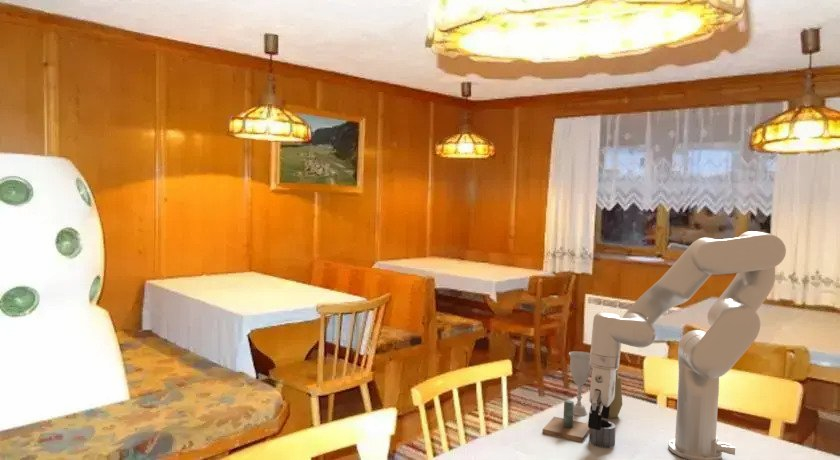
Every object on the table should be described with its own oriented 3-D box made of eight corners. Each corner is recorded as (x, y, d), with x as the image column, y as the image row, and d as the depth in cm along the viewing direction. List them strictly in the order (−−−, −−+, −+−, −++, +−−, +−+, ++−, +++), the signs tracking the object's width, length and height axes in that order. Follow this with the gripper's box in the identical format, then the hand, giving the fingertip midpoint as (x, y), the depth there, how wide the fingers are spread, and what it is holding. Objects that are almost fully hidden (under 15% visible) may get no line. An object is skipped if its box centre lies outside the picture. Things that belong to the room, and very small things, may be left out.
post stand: (592, 428, 170) (593, 400, 170) (582, 442, 161) (584, 411, 160) (554, 420, 176) (555, 392, 175) (542, 433, 166) (543, 403, 166)
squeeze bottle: (620, 411, 184) (623, 353, 183) (623, 421, 177) (626, 360, 176) (593, 409, 186) (595, 351, 185) (594, 418, 178) (597, 358, 177)
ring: (616, 441, 162) (617, 422, 162) (611, 449, 156) (612, 430, 156) (592, 435, 165) (593, 418, 165) (587, 444, 159) (587, 425, 159)
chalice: (588, 409, 186) (591, 351, 185) (593, 417, 179) (595, 357, 178) (564, 408, 186) (567, 350, 185) (567, 416, 180) (570, 356, 179)
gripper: (612, 370, 150) (606, 437, 151) (625, 356, 165) (619, 416, 166) (582, 364, 154) (576, 429, 155) (597, 350, 169) (591, 410, 170)
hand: (598, 422), depth 161 cm, fingers open, 9 cm apart
